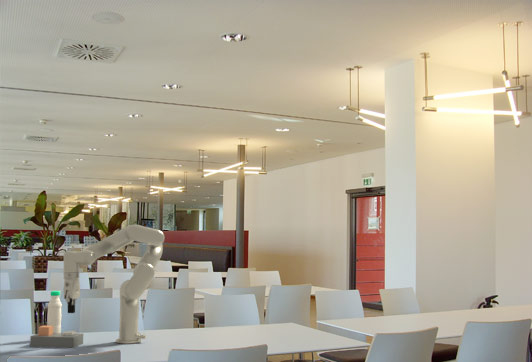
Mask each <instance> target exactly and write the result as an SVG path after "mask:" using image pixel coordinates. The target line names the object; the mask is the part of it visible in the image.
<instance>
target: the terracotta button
mask: <svg viewBox="0 0 532 362" xmlns="http://www.w3.org/2000/svg"><path fill="white" fill-rule="evenodd" d="M37 334H38V335H41V336H49V335H52V334H53V326H47V325H41V326H38V333H37Z"/></svg>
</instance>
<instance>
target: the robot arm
mask: <svg viewBox="0 0 532 362" xmlns="http://www.w3.org/2000/svg"><path fill="white" fill-rule="evenodd" d="M133 242H137V243H141V244H145V245H146V250H145V252H144V253H143V255H142V256H141V258H140V260H139V261H138V262H137V264H136V265H134V268H133V271H132V274H133V275H132V276H131V278H130V279H127V280H124V281H123V282H122V284H121V285H120V288H119V336H118V338H117V339H115V342H116V343H118V344H124V345H125V344H137V343H141V341H142V340H144V339H145V340H146V338H147V335H146V334H141V332H140V331H139V319H140V318H139V316H140V315H139V313H140V312H139V311H140V306H139V305H140V298H141V297H142V295H143V294H144V293H145V291H146V290H147V288H148V286H150V284H151V282H152V281H153V279H154V277H155V274H156V272H155V271H156V270H155V268H156V266H157V264H158V263H159V262H160V259H161V258H162V255H163V252H164V251H163V250H164V247H163V246H164V245H163V243H164V242H165V234H164V232H163V231H161V230H159V229H156V228H152V227H147V226H145V225H144V226H143V225H140V224H130V225H127V226H125V227H123V228H121V229H119V230H118V231H116V232H114V233H113V234H111V235H108V236H106V237H105V238H104V239H102V240H100V241H97V242H96V243H94V244H93V245H90V246H89V247H86V248H84V249H83V250H81V251H77V250H69V251H64V253H63V280H64V283H63V299H65V302H66V305H67V314H74V313H76V302H77V301H76V300H77V299H79V298H80V296H81V285H80V266H91V265H93V264H94V263H95V262H96V260H98V259H100V258H102V257H103V256H106V255H108V254H112V253H114V252H117V251H119V250H120V249H121V250H122V248H124V247H126V246H128V245H129V244H131V243H133Z"/></svg>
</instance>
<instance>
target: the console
mask: <svg viewBox="0 0 532 362" xmlns="http://www.w3.org/2000/svg"><path fill="white" fill-rule="evenodd" d="M62 333H63V332H61V333H53V334H52V335H49V336H41V335H38V333H36V334H33V335H30V337H29V338H30V339H29V340H30V341H29V342H30V343H29V347H31V348H33V347H34V348H61V349H63V348H64V349H65V348H69V349H70V348H71V349H74V348H76V347H79V346H81V345H83V344H84V333H82V332H81V333H77V332H76V335H74V336H62Z"/></svg>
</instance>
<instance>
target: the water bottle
mask: <svg viewBox="0 0 532 362" xmlns="http://www.w3.org/2000/svg"><path fill="white" fill-rule="evenodd" d="M60 296H61V292H60V291H59V290H51V291H50V297H51V298H50V299H49V302H48V304H47V317H46V318H47V319H46V324H47V325H46V326H53V333H62V326H61V323H62V306H63V304H62V302H61V299H60Z"/></svg>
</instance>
